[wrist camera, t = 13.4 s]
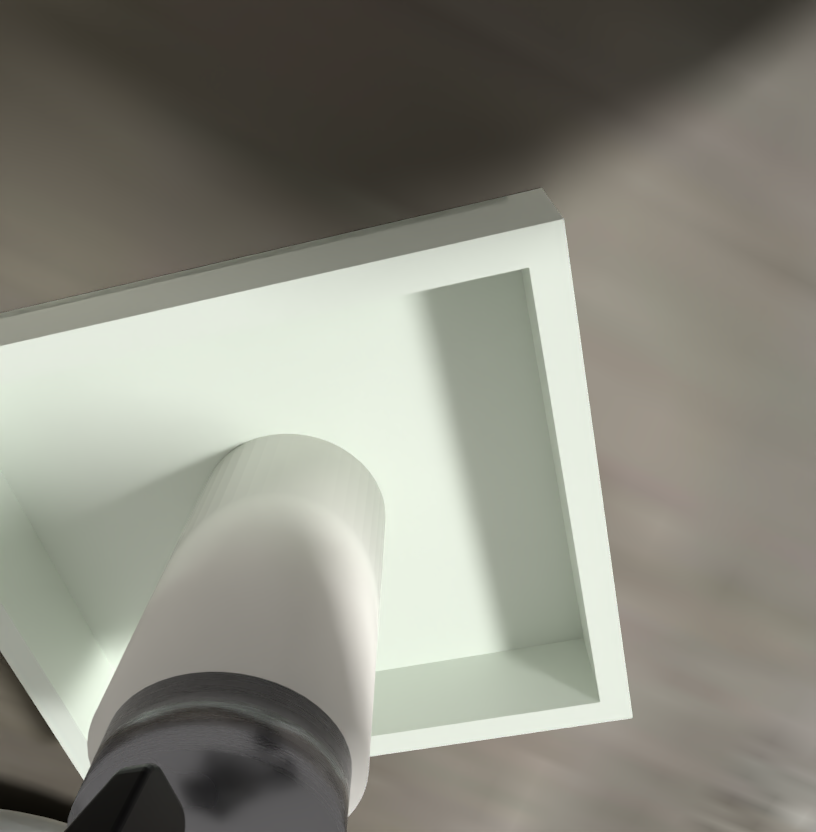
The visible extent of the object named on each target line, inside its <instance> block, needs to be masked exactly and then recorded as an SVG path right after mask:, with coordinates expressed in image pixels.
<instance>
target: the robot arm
mask: <svg viewBox="0 0 816 832" xmlns="http://www.w3.org/2000/svg"><path fill="white" fill-rule="evenodd" d="M64 832H185V814H184V810H183V807H182V804H181V803H180V801H179V799H178V797H177V795H176V794H175V792H174V790H173V788H172V787H171V785H170V783H169V781H168V780H167V778H166V776H165V774H164V773H163V771H162V769H161V768H160V767H159V766H157V765H156V764H154V763H148V764H141V765H134V766H128V767H124V768H122V769H120V770H119V771H118V772H116V773H115V774H114V775H113V776H112V777H111V779H110V780H109V781H108V782H107V783H106V784H105V785H104V787H103V788H102V789H101V790H100V791H99V792H98V793H97V794H96V796H95V797H94V798H93V799H92V800H91V801H90V802H89V804H88V805H87V806H86V807H85V808H84V809H83V810H82V812H81V813H80V814H79V815H78V816H77V817H76V818H75V819H74V821H73V822H72V823H71V824H70V825H69V826H68V827H67V829H66V830H65V831H64Z"/></svg>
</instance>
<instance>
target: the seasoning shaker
mask: <svg viewBox="0 0 816 832" xmlns="http://www.w3.org/2000/svg"><path fill="white" fill-rule="evenodd" d="M385 523H386V510H385V504H384V500H383V496H382V493H381V490H380V488H379V486H378V484H377V482H376V480H375V479H374V478H373V476H372V475H371V473H370V472H369V471H368V469H367V468H366V467H365V466H364V465H363V464H362V463H361V462H360V461H359V460H358V459H356V458H355V457H354V456H353V455H352V454H350V453H349V452H347V451H346V450H344V449H343V448H341V447H339V446H337V445H335V444H333V443H331V442H328V441H325V440H322V439H320V438H316V437H311V436H307V435H299V434H275V435H268V436H264V437H259V438H256V439H253V440H251V441H248V442H246V443H244V444H242V445H240V446H238V447H236V448H235V449H233V450H232V451H231V452H229V453H228V454H227V455H226V456H225V457H224V458H222V459H221V460H220V461H219V463H218V464H217V465H216V467H215V468H214V469H213V471H212V472H211V474H210V476H209V478H208V480H207V482H206V484H205V486H204V488H203V490H202V492H201V494H200V496H199V499H198V501H197V503H196V505H195V507H194V509H193V511H192V513H191V515H190V517H189V519H188V521H187V523H186V525H185V528H184V530H183V532H182V534H181V536H180V538H179V540H178V542H177V544H176V546H175V548H174V550H173V552H172V554H171V557H170V559H169V561H168V563H167V565H166V567H165V569H164V571H163V573H162V575H161V577H160V579H159V581H158V584H157V586H156V588H155V590H154V592H153V594H152V596H151V598H150V600H149V602H148V604H147V606H146V608H145V610H144V613H143V615H142V617H141V619H140V621H139V623H138V625H137V627H136V629H135V631H134V633H133V635H132V637H131V639H130V642H129V644H128V646H127V648H126V650H125V652H124V654H123V656H122V658H121V660H120V662H119V664H118V666H117V669H116V671H115V673H114V675H113V677H112V679H111V681H110V683H109V685H108V687H107V689H106V691H105V693H104V695H103V698H102V700H101V702H100V704H99V706H98V708H97V710H96V712H95V714H94V716H93V718H92V722H91V725H90V728H89V732H88V740H87V748H88V758H89V762H90V765H91V766H90V768H89V770H88V772H87V774H86V777H85V779H84V781H83V783H82V785H81V788H80V790H79V792H78V794H77V796H76V799H75V801H74V803H73V805H72V808H71V811H70V814H69V817H68V823H67V827H68V826H69V825H70V824H71V823H72V822H73V821H74V819H75V818H76V817H77V816H78V815H79V814H80V813H81V812H82V810H83V809H84V808H85V807H86V806H87V805H88V804H89V802H90V801H91V800H92V799H93V798H94V797H95V796H96V794H97V793H98V792H99V791H100V790H101V789H102V788H103V787H104V785H105V784H106V783H107V782H108V781H109V780H110V779H111V777H112V776H113V775H114V774H115V773H116V772H118V771H119V770H120V769H122V768H124V767H128V766H134V765H141V764H148V763H154V764H156V765H157V766H159V767H160V768H161V769H162V771H163V773H164V774H165V776H166V778H167V780H168V781H169V783H170V785H171V787H172V788H173V790H174V792H175V794H176V795H177V797H178V799H179V801H180V803H181V804H182V807H183V810H184V814H185V832H347V821H348V816H349V815H350V814H351V813H352V812H353V810H354V809H355V808H356V807H357V805H358V803H359V801H360V800H361V798H362V796H363V793H364V791H365V788H366V785H367V780H368V774H369V761H370V746H371V731H372V716H373V701H374V686H375V672H376V657H377V642H378V627H379V612H380V597H381V583H382V568H383V553H384V538H385Z"/></svg>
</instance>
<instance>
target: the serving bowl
mask: <svg viewBox="0 0 816 832" xmlns="http://www.w3.org/2000/svg"><path fill="white" fill-rule="evenodd" d="M66 829H67V823H64V822H61V821H57V820H54V819H50V818H46V817H42V816H37V815H32V814H28V813H23V812H17V811H12V810H5V809H0V832H64V831H65V830H66Z"/></svg>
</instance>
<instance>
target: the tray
mask: <svg viewBox="0 0 816 832" xmlns="http://www.w3.org/2000/svg"><path fill="white" fill-rule="evenodd" d="M275 434H299V435H307V436H311V437H316V438H320V439H322V440H325V441H328V442H331V443H333V444H335V445H337V446H339V447H341V448H343V449H344V450H346V451H347V452H349V453H350V454H352V455H353V456H354V457H355V458H356V459H358V460H359V461H360V462H361V463H362V464H363V465H364V466H365V467H366V468H367V469H368V471H369V472H370V473H371V475H372V476H373V478H374V479H375V480H376V482H377V484H378V486H379V488H380V490H381V493H382V496H383V500H384V504H385V510H386V523H385V538H384V553H383V568H382V583H381V597H380V612H379V627H378V642H377V657H376V672H375V686H374V701H373V716H372V731H371V746H370V756H377V755H384V754H390V753H397V752H404V751H411V750H418V749H425V748H431V747H438V746H445V745H452V744H459V743H466V742H472V741H479V740H486V739H493V738H500V737H506V736H513V735H520V734H527V733H534V732H541V731H547V730H554V729H561V728H568V727H575V726H581V725H588V724H595V723H602V722H609V721H616V720H622V719H629V718H633V716H632V709H631V702H630V694H629V687H628V680H627V673H626V665H625V658H624V651H623V644H622V636H621V629H620V622H619V615H618V607H617V600H616V593H615V586H614V579H613V571H612V564H611V557H610V550H609V542H608V535H607V528H606V521H605V513H604V506H603V499H602V492H601V484H600V477H599V470H598V463H597V455H596V448H595V441H594V434H593V426H592V419H591V412H590V405H589V397H588V390H587V383H586V376H585V368H584V361H583V354H582V347H581V340H580V332H579V325H578V318H577V311H576V303H575V296H574V289H573V282H572V274H571V267H570V260H569V253H568V245H567V238H566V231H565V224H564V218H563V217H562V216H561V214H560V213H559V211H558V210H557V208H556V207H555V206H554V204H553V203H552V201H551V200H550V199H549V197H548V196H547V194H546V193H545V192H544V190H543V189H542V188H539V189H535V190H530V191H526V192H522V193H517V194H513V195H509V196H504V197H500V198H496V199H491V200H487V201H483V202H478V203H474V204H470V205H465V206H461V207H457V208H452V209H448V210H444V211H439V212H435V213H431V214H427V215H422V216H418V217H414V218H409V219H405V220H401V221H396V222H392V223H388V224H383V225H379V226H375V227H370V228H366V229H362V230H357V231H353V232H349V233H344V234H340V235H336V236H332V237H327V238H323V239H319V240H314V241H310V242H306V243H301V244H297V245H293V246H288V247H284V248H280V249H275V250H271V251H267V252H262V253H258V254H254V255H249V256H245V257H241V258H236V259H232V260H228V261H224V262H219V263H215V264H211V265H206V266H202V267H198V268H193V269H189V270H185V271H180V272H176V273H172V274H167V275H163V276H159V277H154V278H150V279H146V280H141V281H137V282H133V283H128V284H124V285H120V286H116V287H111V288H107V289H103V290H98V291H94V292H90V293H85V294H81V295H77V296H72V297H68V298H64V299H59V300H55V301H51V302H46V303H42V304H38V305H33V306H29V307H25V308H21V309H16V310H12V311H8V312H3V313H0V651H1V653H2V654H3V656H4V657H5V659H6V661H7V662H8V664H9V665H10V667H11V668H12V670H13V671H14V673H15V674H16V676H17V678H18V679H19V681H20V682H21V684H22V685H23V687H24V688H25V690H26V691H27V693H28V695H29V696H30V698H31V699H32V701H33V702H34V704H35V705H36V707H37V709H38V710H39V712H40V713H41V715H42V716H43V718H44V719H45V721H46V722H47V724H48V726H49V727H50V729H51V730H52V732H53V733H54V735H55V736H56V738H57V740H58V741H59V743H60V744H61V746H62V747H63V749H64V750H65V752H66V753H67V755H68V757H69V758H70V760H71V761H72V763H73V764H74V766H75V767H76V769H77V770H78V772H79V774H80V775H81V777H82V778H83V780H84V779H85V777H86V774H87V772H88V770H89V768H90V766H91V765H90V762H89V758H88V748H87V740H88V732H89V728H90V725H91V722H92V718H93V716H94V714H95V712H96V710H97V708H98V706H99V704H100V702H101V700H102V698H103V695H104V693H105V691H106V689H107V687H108V685H109V683H110V681H111V679H112V677H113V675H114V673H115V671H116V669H117V666H118V664H119V662H120V660H121V658H122V656H123V654H124V652H125V650H126V648H127V646H128V644H129V642H130V639H131V637H132V635H133V633H134V631H135V629H136V627H137V625H138V623H139V621H140V619H141V617H142V615H143V613H144V610H145V608H146V606H147V604H148V602H149V600H150V598H151V596H152V594H153V592H154V590H155V588H156V586H157V584H158V581H159V579H160V577H161V575H162V573H163V571H164V569H165V567H166V565H167V563H168V561H169V559H170V557H171V554H172V552H173V550H174V548H175V546H176V544H177V542H178V540H179V538H180V536H181V534H182V532H183V530H184V528H185V525H186V523H187V521H188V519H189V517H190V515H191V513H192V511H193V509H194V507H195V505H196V503H197V501H198V499H199V496H200V494H201V492H202V490H203V488H204V486H205V484H206V482H207V480H208V478H209V476H210V474H211V472H212V471H213V469H214V468H215V467H216V465H217V464H218V463H219V461H220V460H221V459H222V458H224V457H225V456H226V455H227V454H228V453H229V452H231V451H232V450H233V449H235V448H236V447H238V446H240V445H242V444H244V443H246V442H248V441H251V440H253V439H256V438H259V437H264V436H268V435H275Z"/></svg>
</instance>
